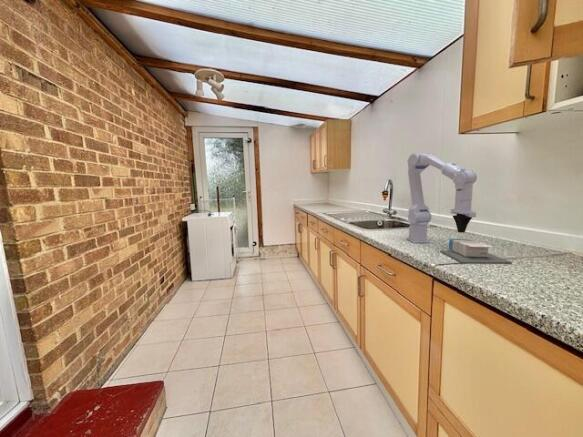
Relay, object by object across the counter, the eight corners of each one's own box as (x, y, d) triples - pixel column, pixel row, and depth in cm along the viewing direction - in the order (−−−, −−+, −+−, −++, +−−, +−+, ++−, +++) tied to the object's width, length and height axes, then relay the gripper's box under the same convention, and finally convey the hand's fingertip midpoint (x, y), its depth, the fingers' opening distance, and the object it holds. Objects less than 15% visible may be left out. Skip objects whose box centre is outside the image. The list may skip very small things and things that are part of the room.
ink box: (448, 249, 109) (469, 259, 94) (449, 238, 108) (470, 246, 94) (469, 250, 108) (493, 259, 94) (470, 238, 108) (494, 246, 93)
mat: (439, 251, 108) (439, 250, 108) (481, 252, 106) (481, 250, 106) (461, 263, 92) (462, 261, 92) (511, 263, 90) (512, 262, 90)
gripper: (444, 199, 112) (442, 229, 114) (463, 201, 98) (461, 235, 100) (460, 199, 112) (459, 229, 114) (482, 200, 98) (480, 235, 99)
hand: (461, 232), depth 107 cm, fingers closed
